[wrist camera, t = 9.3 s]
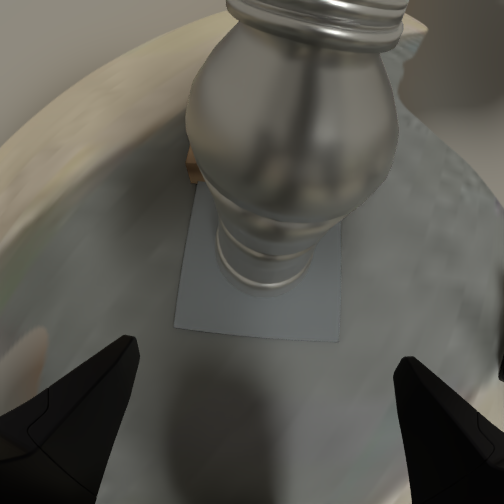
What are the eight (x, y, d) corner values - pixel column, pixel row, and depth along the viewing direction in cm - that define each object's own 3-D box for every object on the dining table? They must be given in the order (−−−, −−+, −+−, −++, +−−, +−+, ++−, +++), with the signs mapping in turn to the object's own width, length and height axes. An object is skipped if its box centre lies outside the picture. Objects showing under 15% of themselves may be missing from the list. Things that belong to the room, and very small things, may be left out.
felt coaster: (337, 341, 20) (338, 341, 20) (174, 327, 20) (173, 327, 20) (338, 198, 24) (339, 195, 24) (198, 183, 24) (197, 181, 24)
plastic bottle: (289, 210, 23) (367, -56, 4) (315, 291, 21) (540, 65, 2) (209, 228, 22) (153, -63, 3) (229, 314, 20) (138, -5, 1)
